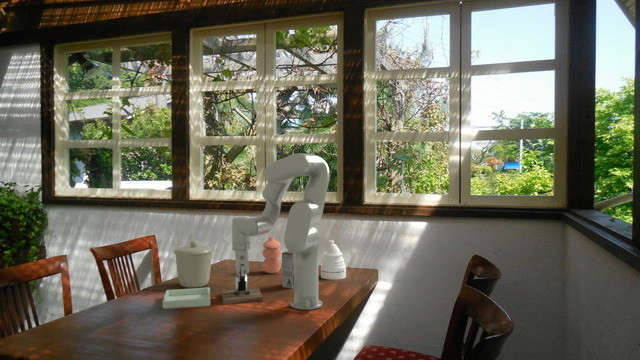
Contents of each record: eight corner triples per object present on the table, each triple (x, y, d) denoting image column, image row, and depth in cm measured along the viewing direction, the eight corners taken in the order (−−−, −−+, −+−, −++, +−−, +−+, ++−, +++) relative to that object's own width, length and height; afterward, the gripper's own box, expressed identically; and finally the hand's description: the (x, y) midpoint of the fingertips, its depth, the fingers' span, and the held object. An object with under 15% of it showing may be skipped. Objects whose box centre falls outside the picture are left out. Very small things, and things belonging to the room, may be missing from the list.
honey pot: (316, 275, 236) (316, 240, 235) (338, 272, 241) (338, 238, 241) (327, 280, 224) (327, 244, 223) (350, 278, 229) (350, 242, 229)
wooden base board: (262, 301, 188) (262, 296, 188) (223, 304, 184) (223, 299, 184) (258, 291, 204) (258, 287, 203) (221, 294, 200) (221, 289, 200)
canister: (203, 291, 204) (203, 244, 204) (166, 289, 208) (166, 243, 208) (220, 281, 222) (219, 238, 222) (185, 279, 226) (185, 237, 225)
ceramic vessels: (326, 278, 229) (326, 241, 229) (295, 286, 214) (295, 246, 214) (280, 268, 254) (280, 234, 253) (250, 274, 239) (250, 238, 238)
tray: (210, 306, 182) (210, 298, 182) (162, 309, 178) (162, 301, 177) (209, 294, 199) (209, 287, 199) (166, 297, 195) (166, 290, 195)
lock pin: (248, 299, 192) (247, 275, 192) (235, 299, 191) (235, 276, 191) (247, 295, 197) (246, 272, 197) (235, 296, 196) (235, 273, 195)
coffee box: (292, 282, 219) (292, 249, 218) (304, 284, 216) (304, 250, 215) (281, 286, 211) (281, 252, 210) (293, 288, 208) (293, 254, 207)
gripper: (252, 249, 186) (252, 293, 186) (248, 242, 203) (248, 283, 203) (233, 250, 184) (233, 294, 185) (231, 243, 201) (231, 284, 201)
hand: (241, 288), depth 194 cm, fingers closed on lock pin, 5 cm apart
